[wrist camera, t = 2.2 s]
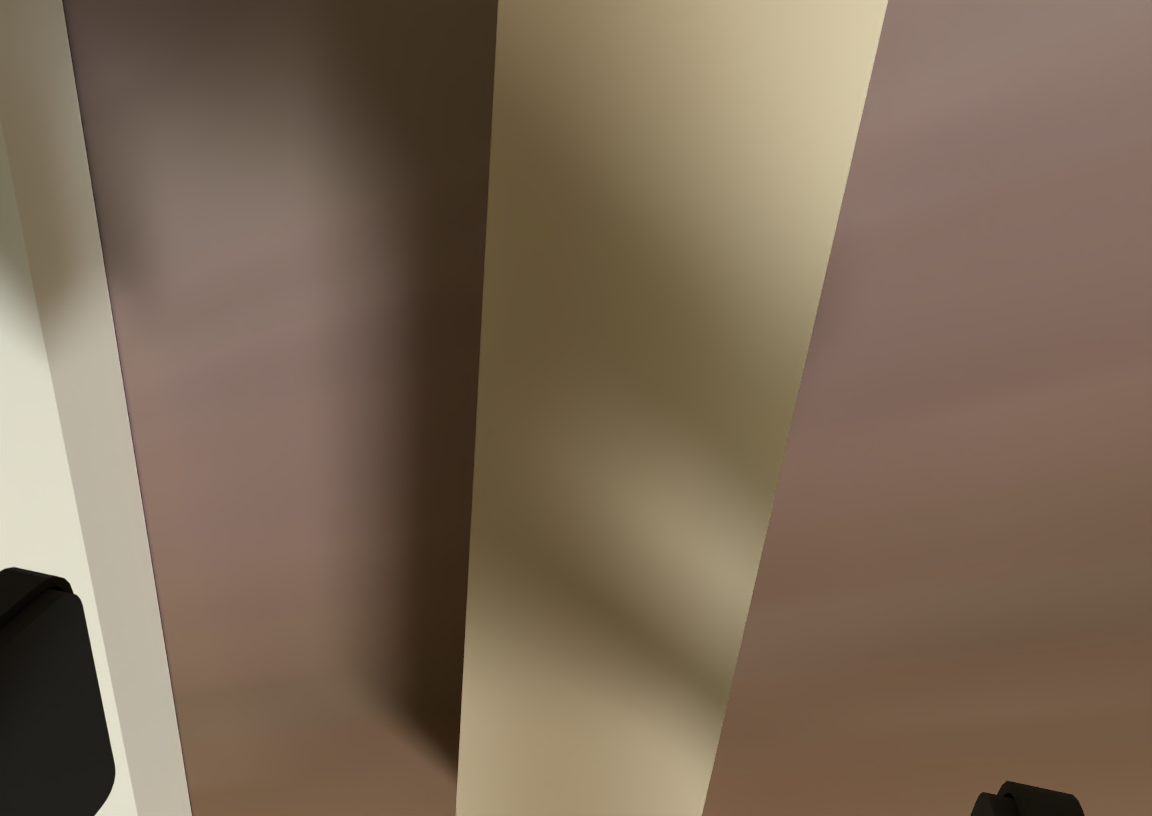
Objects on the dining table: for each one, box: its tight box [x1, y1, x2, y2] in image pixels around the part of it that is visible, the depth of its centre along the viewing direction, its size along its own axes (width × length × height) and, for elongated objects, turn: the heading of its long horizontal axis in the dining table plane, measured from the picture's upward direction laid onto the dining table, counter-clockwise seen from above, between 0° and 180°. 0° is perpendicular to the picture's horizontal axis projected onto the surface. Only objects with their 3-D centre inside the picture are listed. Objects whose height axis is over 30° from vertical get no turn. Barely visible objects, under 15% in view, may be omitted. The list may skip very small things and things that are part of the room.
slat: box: [456, 0, 888, 816], centre depth 12 cm, size 2×18×6 cm, turn 174°
